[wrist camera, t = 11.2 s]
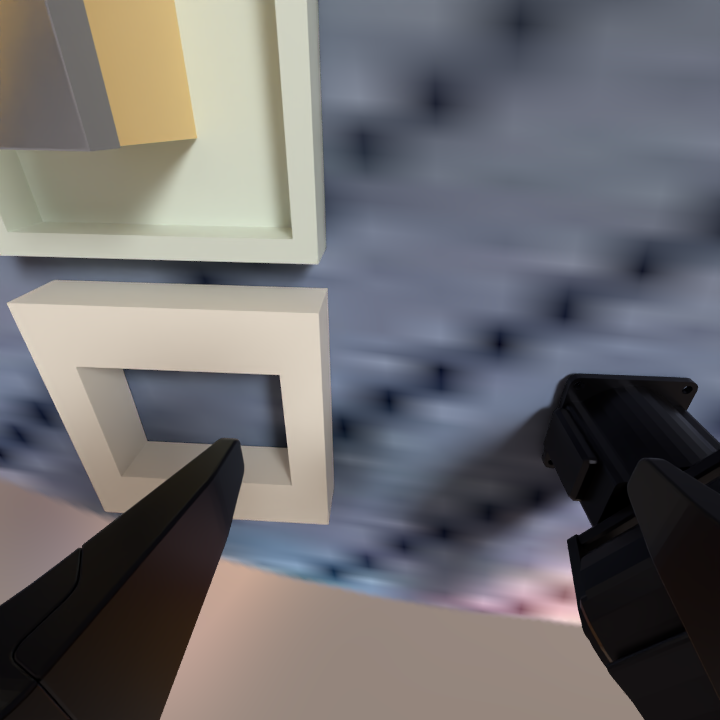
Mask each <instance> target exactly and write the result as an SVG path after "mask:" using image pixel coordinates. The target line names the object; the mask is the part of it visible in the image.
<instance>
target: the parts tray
mask: <svg viewBox="0 0 720 720" xmlns="http://www.w3.org/2000/svg"><path fill="white" fill-rule="evenodd" d="M174 2H175V8H176V14H177V20H178V26H179V32H180V38H181V44H182V50H183V56H184V62H185V68H186V74H187V80H188V86H189V92H190V98H191V104H192V110H193V116H194V122H195V128H196V134H197V138H195V139H185V140H175V141H165V142H156V143H146V144H136V145H126V146H120V147H121V148H119V149H110V150H101V151H92V152H84V151H42V150H0V255H2V256H38V257H74V258H110V259H146V260H182V261H217V262H253V263H289V264H319V262H320V260H321V258H322V256H323V254H324V251H325V249H326V226H325V196H324V166H323V135H322V105H321V75H320V45H319V15H318V0H174Z"/></svg>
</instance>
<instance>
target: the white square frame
mask: <svg viewBox="0 0 720 720" xmlns="http://www.w3.org/2000/svg"><path fill="white" fill-rule="evenodd" d="M7 305H8V307H9V309H10V311H11V313H12V315H13V317H14V319H15V322H16V324H17V326H18V328H19V330H20V332H21V334H22V336H23V339H24V341H25V343H26V345H27V347H28V349H29V351H30V353H31V355H32V358H33V360H34V362H35V364H36V366H37V368H38V370H39V372H40V375H41V377H42V379H43V381H44V383H45V385H46V387H47V389H48V391H49V394H50V396H51V398H52V400H53V402H54V404H55V406H56V408H57V411H58V413H59V415H60V417H61V419H62V421H63V423H64V425H65V428H66V430H67V432H68V434H69V436H70V438H71V440H72V442H73V444H74V447H75V449H76V451H77V453H78V455H79V457H80V459H81V461H82V464H83V466H84V468H85V470H86V472H87V474H88V476H89V478H90V480H91V483H92V485H93V487H94V489H95V491H96V493H97V495H98V497H99V500H100V502H101V504H102V506H103V508H104V510H105V512H117V513H124V512H126V511H127V510H128V509H130V508H131V507H132V506H133V505H135V504H136V503H137V502H139V501H140V500H141V499H143V498H144V497H145V496H146V495H148V494H149V493H150V492H152V491H153V490H154V489H155V488H157V487H158V486H159V485H161V484H162V483H163V482H164V481H166V480H167V479H168V478H170V477H171V476H172V475H174V474H175V473H176V472H177V471H179V470H180V469H181V468H183V467H184V466H185V465H186V464H188V463H189V462H190V461H192V460H193V459H194V458H195V457H197V456H198V455H199V454H201V453H202V452H203V451H205V450H206V449H207V448H208V447H210V446H211V445H212V444H196V443H175V442H155V441H147V438H146V435H145V432H144V430H143V427H142V424H141V421H140V418H139V415H138V412H137V409H136V406H135V403H134V401H133V398H132V395H131V392H130V389H129V386H128V383H127V380H126V377H125V374H124V372H123V369H144V370H169V371H194V372H218V373H243V374H268V375H280V383H281V392H282V401H283V410H284V419H285V428H286V437H287V446H288V448H278V447H257V446H241V449H242V454H243V460H244V467H245V468H244V476H243V480H242V484H241V488H240V492H239V495H238V499H237V503H236V507H235V511H234V515H233V519H239V520H256V521H274V522H291V523H309V524H326V525H329V518H330V511H331V504H332V497H333V491H334V467H333V437H332V407H331V377H330V346H329V316H328V288H299V287H267V286H234V285H201V284H169V283H136V282H103V281H70V280H53V281H51V282H49V283H47V284H45V285H43V286H41V287H39V288H37V289H35V290H33V291H31V292H28V293H26V294H24V295H22V296H20V297H18V298H16V299H14V300H12V301H10V302H8V303H7Z"/></svg>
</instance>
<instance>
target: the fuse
mask: <svg viewBox="0 0 720 720" xmlns="http://www.w3.org/2000/svg"><path fill="white" fill-rule="evenodd" d="M195 138H197V134H196V128H195V122H194V116H193V110H192V104H191V98H190V92H189V86H188V80H187V74H186V68H185V62H184V56H183V50H182V44H181V38H180V32H179V26H178V20H177V14H176V8H175V2H174V0H0V150H42V151H84V152H92V151H101V150H110V149H119V148H121V147H120V146H126V145H136V144H146V143H156V142H165V141H175V140H185V139H195Z"/></svg>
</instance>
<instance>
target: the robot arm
mask: <svg viewBox="0 0 720 720" xmlns="http://www.w3.org/2000/svg"><path fill="white" fill-rule="evenodd" d="M577 382H581V383H580V384H578V385H575V384H576V383H577ZM686 386H687V387H686ZM685 387H686V388H685ZM683 388H685V389H683ZM697 390H698V385H697V384H696V383H695V382H694V381H692V380H691V379H689V378H677V377H652V376H626V375H601V374H574V375H572V376H570V377H569V378H568V380H567V381H566V385H565V388H564V391H563V394H562V397H561V400H560V403H559V406H558V408H557V409H556V410H555V411H554V413H553V416H552V419H551V422H550V425H549V428H548V431H547V434H546V437H545V441H544V446H545V449H544V452H543V455H542V461H543V463H544V465H545V466H546V467H549V468H555V469H556V471H557V473H558V475H559V477H560V479H561V482H562V484H563V486H564V488H565V490H566V492H567V494H568V496H569V497H570V498H571V499H572V500H573V501H580V503H581V505H582V507H583V509H584V511H585V513H586V515H587V517H588V519H589V521H590V523H591V525H592V527H591V528H590V529H588V530H587V531H585V532H583V533H582V534H580V535H577V534H576V535H574V536H573V537H571V538H569V539H568V540H567V544H568V550H569V556H570V562H571V569H572V575H573V581H574V587H575V593H576V599H577V605H578V611H579V615H580V619H581V623H582V628H583V631H584V633H585V635H586V637H587V638H588V639H589V640H590V643H591V645H592V646H593V648H594V650H595V651H596V653H597V655H598V656H599V658H600V659H601V661H602V662H603V664H604V665H605V666H606V668H607V670H608V672H609V674H610V675H611V676H612V677H613V679H614V680H615V681H616V682H617V684H618V685H619V686H620V687H621V688H622V690H623V691H624V692H625V693H626V695H627V696H628V697H629V698H630V699H631V701H632V702H633V703H634V705H635V706H636V708H637V709H638V711H639V712H640V714H641V715H642V717H643V718H644V720H720V443H719V442H718V441H717V440H716V439H715V438H714V437H713V436H712V435H711V434H710V433H709V432H708V431H707V430H706V429H705V428H704V427H703V426H702V425H701V424H700V423H699V422H698V421H697V420H696V419H695V418H694V417H693V416H692V415H691V414H690V413H689V412H687V409H688V407H689V405H690V403H691V401H692V399H693V398H694V396H695V394H696V392H697ZM550 459H551V460H550ZM244 468H245V467H244V460H243V454H242V449H241V444H240V441H239V440H238V439H234V438H221V439H219V440H217V441H216V442H215V443H214V444H212V445H211V446H210V447H208V448H207V449H206V450H205V451H203V452H202V453H201V454H199V455H198V456H197V457H195V458H194V459H193V460H192V461H190V462H189V463H188V464H186V465H185V466H184V467H183V468H181V469H180V470H179V471H177V472H176V473H175V474H174V475H172V476H171V477H170V478H168V479H167V480H166V481H164V482H163V483H162V484H161V485H159V486H158V487H157V488H155V489H154V490H153V491H152V492H150V493H149V494H148V495H146V496H145V497H144V498H143V499H141V500H140V501H139V502H137V503H136V504H135V505H133V506H132V507H131V508H130V509H128V510H127V511H126V512H124V513H123V514H122V515H121V516H119V517H118V518H117V519H115V520H114V521H113V522H112V523H110V524H109V525H108V526H106V527H105V528H104V529H103V530H101V531H100V532H99V533H97V534H96V535H95V536H94V537H92V538H91V539H90V540H88V541H87V542H86V543H84V544H83V545H82V548H78V549H76V550H75V551H74V552H73V553H71V554H70V555H69V556H67V557H66V558H65V559H64V560H62V561H61V562H60V563H58V564H57V565H56V566H54V567H53V568H52V569H50V570H49V571H48V572H46V573H45V574H44V575H42V576H41V577H40V578H38V579H37V580H36V581H34V582H33V583H32V584H30V585H29V586H28V587H26V588H25V589H23V590H22V591H20V592H19V593H17V594H16V595H15V596H13V597H12V598H10V599H9V600H7V601H6V602H5V603H3V604H2V605H0V720H160V717H161V714H162V712H163V709H164V706H165V704H166V701H167V699H168V696H169V693H170V690H171V688H172V685H173V683H174V680H175V677H176V675H177V672H178V669H179V666H180V664H181V661H182V659H183V656H184V653H185V650H186V648H187V645H188V643H189V640H190V637H191V635H192V632H193V629H194V627H195V624H196V621H197V619H198V616H199V613H200V610H201V608H202V605H203V602H204V600H205V597H206V594H207V592H208V589H209V586H210V584H211V581H212V578H213V576H214V573H215V570H216V567H217V565H218V562H219V560H220V557H221V554H222V552H223V549H224V546H225V543H226V541H227V538H228V534H229V531H230V527H231V523H232V519H233V515H234V511H235V507H236V503H237V499H238V495H239V492H240V488H241V484H242V480H243V476H244Z"/></svg>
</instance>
